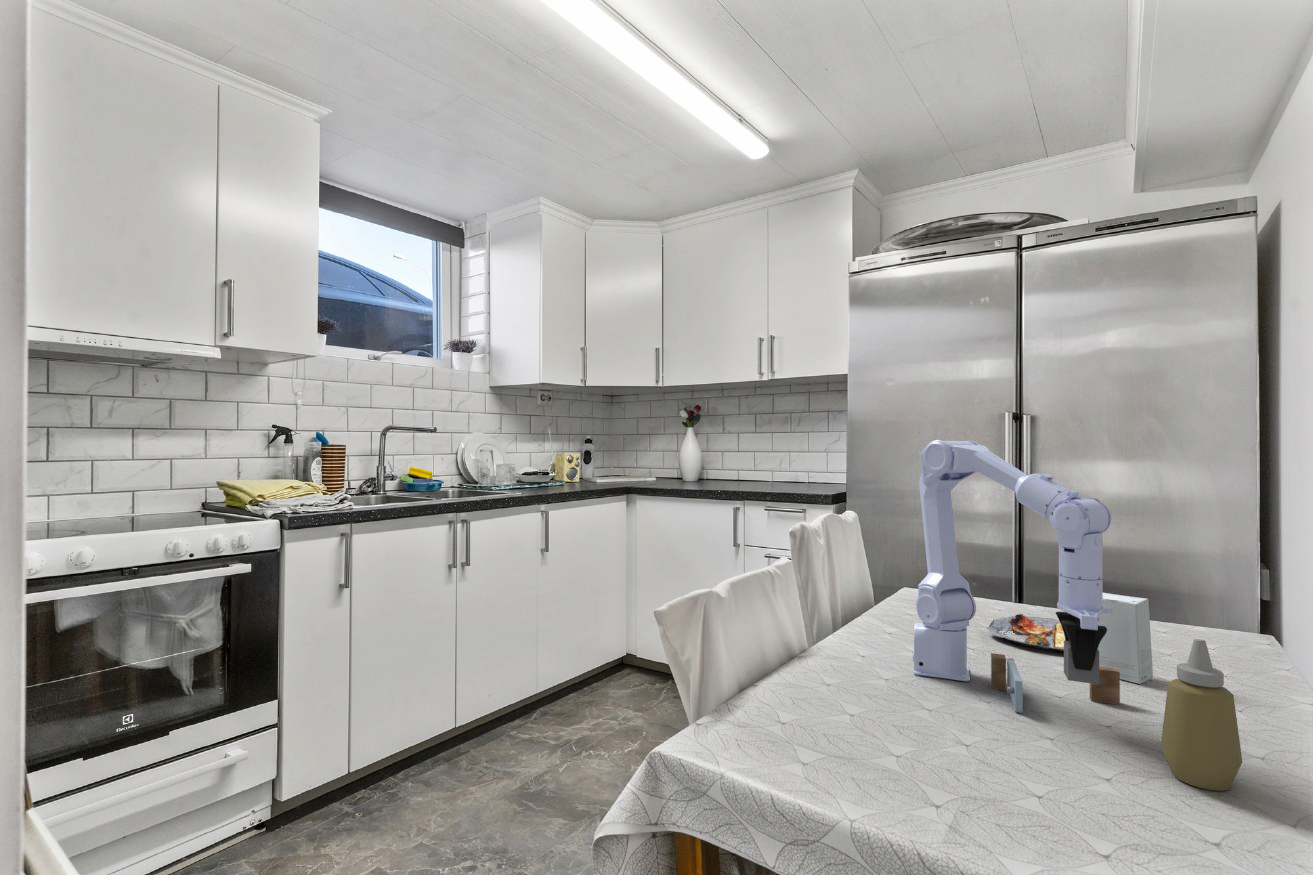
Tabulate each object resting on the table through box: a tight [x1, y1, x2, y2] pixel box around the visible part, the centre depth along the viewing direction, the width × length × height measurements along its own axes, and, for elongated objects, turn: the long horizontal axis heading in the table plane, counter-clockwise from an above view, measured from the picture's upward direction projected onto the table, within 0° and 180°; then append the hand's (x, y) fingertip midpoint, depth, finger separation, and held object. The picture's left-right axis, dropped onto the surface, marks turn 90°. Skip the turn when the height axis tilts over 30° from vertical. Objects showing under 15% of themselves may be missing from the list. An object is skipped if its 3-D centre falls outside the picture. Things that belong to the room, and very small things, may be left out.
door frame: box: [990, 652, 1121, 706], centre depth 113 cm, size 19×2×6 cm, turn 66°
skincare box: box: [1098, 592, 1154, 685], centre depth 123 cm, size 8×6×15 cm
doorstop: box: [1063, 641, 1099, 684], centre depth 101 cm, size 4×4×5 cm
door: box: [1006, 657, 1024, 714], centre depth 111 cm, size 12×2×5 cm, turn 157°
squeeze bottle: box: [1160, 638, 1243, 792], centre depth 84 cm, size 8×8×18 cm
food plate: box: [987, 613, 1065, 653], centre depth 145 cm, size 25×23×4 cm
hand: (1080, 664), depth 101 cm, fingers closed on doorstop, 4 cm apart
